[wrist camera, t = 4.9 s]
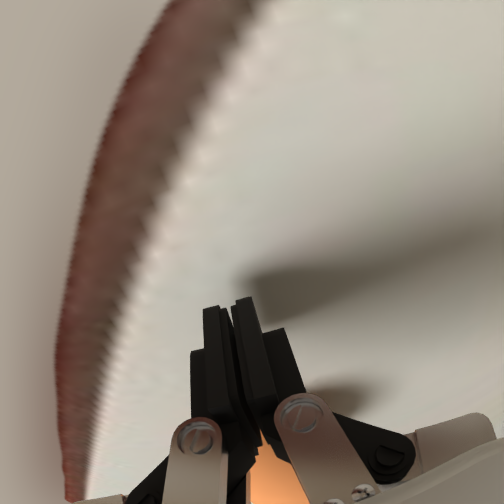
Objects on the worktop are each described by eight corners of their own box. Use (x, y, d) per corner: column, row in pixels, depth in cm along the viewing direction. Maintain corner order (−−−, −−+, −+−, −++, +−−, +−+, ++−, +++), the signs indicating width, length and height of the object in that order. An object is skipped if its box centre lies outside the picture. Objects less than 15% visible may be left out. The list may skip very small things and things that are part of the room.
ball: (322, 378, 15) (361, 477, 10) (327, 426, 18) (354, 501, 13) (211, 407, 15) (222, 510, 10) (240, 449, 18) (254, 527, 12)
